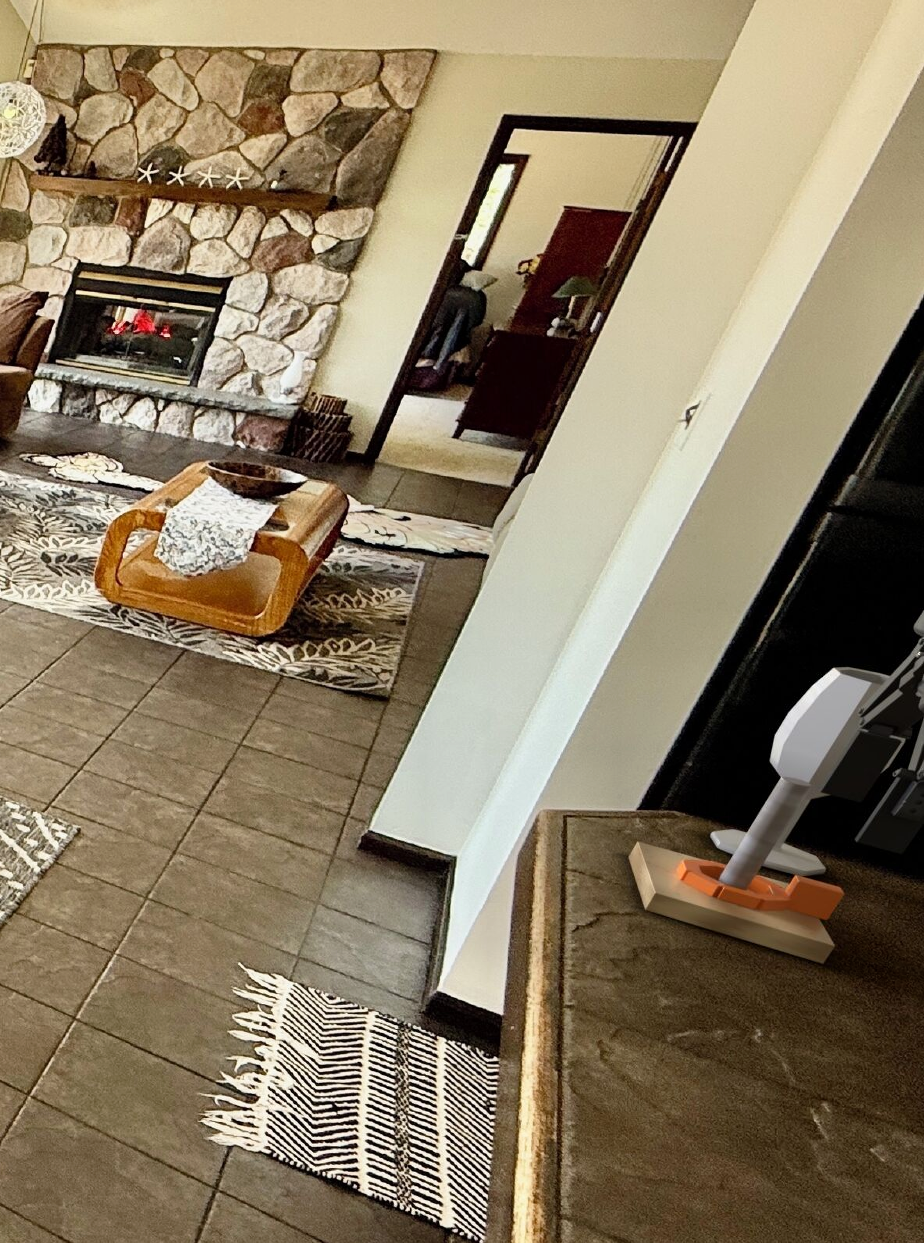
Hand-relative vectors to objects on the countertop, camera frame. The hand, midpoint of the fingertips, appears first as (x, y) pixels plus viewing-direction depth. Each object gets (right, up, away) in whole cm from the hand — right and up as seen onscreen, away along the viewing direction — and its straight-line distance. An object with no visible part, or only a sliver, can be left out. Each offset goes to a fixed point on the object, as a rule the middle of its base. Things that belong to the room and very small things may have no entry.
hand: (857, 820), depth 107 cm
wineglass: (+13, -6, +19) cm, 23 cm away
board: (-5, -9, +7) cm, 13 cm away
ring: (-3, -8, +6) cm, 10 cm away
